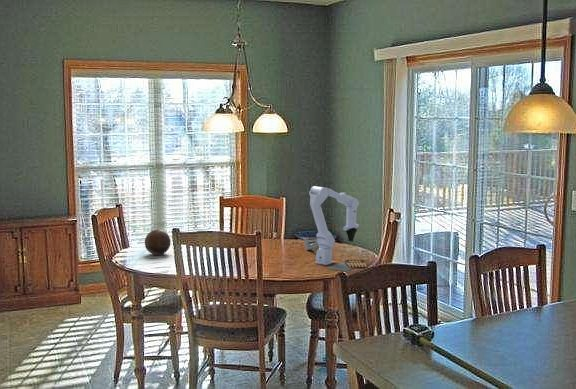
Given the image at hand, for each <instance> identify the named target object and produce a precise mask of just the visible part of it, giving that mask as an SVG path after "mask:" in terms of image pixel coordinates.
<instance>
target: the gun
mask: <svg viewBox="0 0 576 389" xmlns="http://www.w3.org/2000/svg"><path fill="white" fill-rule="evenodd" d="M304 249H305V251H311V250H312V251H313V252H314V254H316V252H317V250H318V249H319V245H318V243H317V238H315V239H305V240H304Z"/></svg>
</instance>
